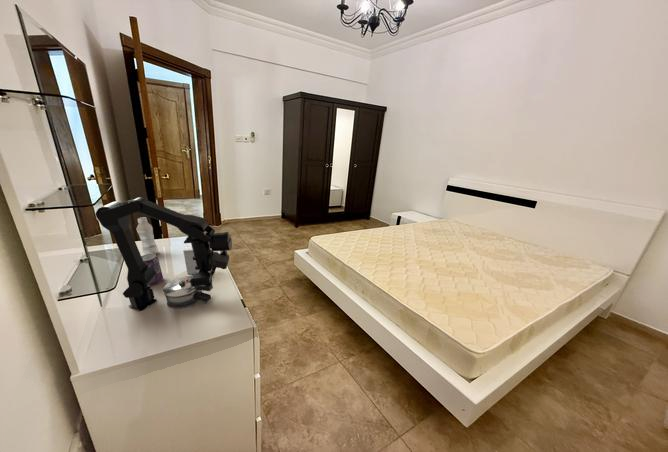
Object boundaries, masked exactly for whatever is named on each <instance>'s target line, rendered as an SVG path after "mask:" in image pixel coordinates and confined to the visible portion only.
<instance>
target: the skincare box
mask: <svg viewBox="0 0 668 452" xmlns="http://www.w3.org/2000/svg"><path fill="white" fill-rule="evenodd" d="M182 251H183V257H184V263H185V268H186V273H187V274H188V275H191V274H193V275H194V273H198V272H199V270H200V269H199V270H196V269H195V267H196V261H195V260H193V256H194V253H193V249H192V245H190V246H189V245H188V246H186V247H185V248H184V249H183V250H182Z"/></svg>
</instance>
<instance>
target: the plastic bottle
mask: <svg viewBox="0 0 668 452" xmlns="http://www.w3.org/2000/svg"><path fill="white" fill-rule="evenodd" d="M153 229H154V228H153V225H152V224H150V223H149V222H148V219H147V217H146V216H142V217H138V218H137V227H136V231H137V234H138V236H139V239H140V241H141V246H142V247H141V248H142V253H143V255H146V254H155V255H157V254H158V252H159V247H158V245H157V243H156V240H155V237H154V236H155V235H154V230H153Z"/></svg>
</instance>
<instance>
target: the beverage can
mask: <svg viewBox="0 0 668 452" xmlns="http://www.w3.org/2000/svg"><path fill="white" fill-rule="evenodd" d="M141 257H142V259H143V262H144V263H145V264H147V265H148V266H149V265H153V268H154V271H155V272H156V274H155V279H154V280H153V281H152V283H151V284H150V285H149V286H154V285H156V284H158V283H161V282H162V281H163V279H164V275H163V271H162V268H161V264H160V259H159V258H158V256H157V254H146V255H144V254H143V255H141Z"/></svg>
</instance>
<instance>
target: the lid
mask: <svg viewBox="0 0 668 452" xmlns="http://www.w3.org/2000/svg"><path fill="white" fill-rule="evenodd" d="M192 276H193V275H187V276H182V277H178V278H176V279H175V278H174V279H173V280H171V281H169V282H168V283H165V284H166V285H164V287H163V289H162V290H163V291H162V292H163V294H164V296H165V297H166V296H167V297H171V298H178V297H183V296H187V295H189V294H192V293H194V292H195V291H197V290H202V292H203V291H205V292H211V291H212V289H214V287H213V282H212V283H210V284H208V285H199V286H191V284H190V280H191V278H192Z"/></svg>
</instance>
